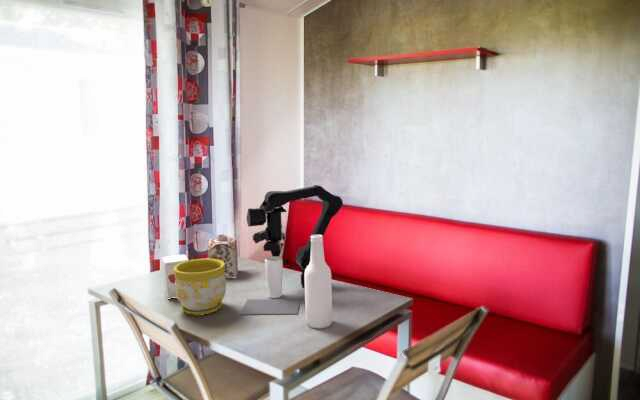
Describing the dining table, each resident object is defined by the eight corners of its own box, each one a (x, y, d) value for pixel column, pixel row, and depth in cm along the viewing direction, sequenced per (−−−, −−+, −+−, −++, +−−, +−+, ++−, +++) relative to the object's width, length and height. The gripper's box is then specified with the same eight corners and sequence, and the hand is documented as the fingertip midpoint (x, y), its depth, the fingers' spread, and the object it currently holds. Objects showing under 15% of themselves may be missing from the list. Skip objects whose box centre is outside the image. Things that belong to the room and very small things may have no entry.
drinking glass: (286, 294, 192) (285, 256, 189) (279, 300, 185) (278, 261, 183) (270, 292, 194) (269, 255, 191) (263, 298, 188) (261, 260, 185)
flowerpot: (166, 315, 174) (162, 270, 171) (195, 297, 190) (192, 256, 188) (210, 321, 167) (207, 275, 165) (236, 302, 184) (234, 260, 181)
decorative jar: (212, 271, 223) (209, 233, 220) (238, 270, 224) (236, 231, 221) (209, 280, 211) (206, 239, 208) (236, 278, 212) (234, 238, 209)
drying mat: (300, 299, 185) (300, 298, 185) (297, 314, 171) (297, 313, 171) (247, 300, 186) (247, 299, 186) (240, 314, 172) (240, 313, 172)
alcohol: (335, 327, 160) (333, 237, 155) (309, 331, 158) (307, 240, 153) (327, 316, 169) (325, 231, 164) (302, 320, 166) (300, 234, 161)
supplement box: (167, 300, 188) (164, 262, 186) (164, 293, 196) (161, 256, 194) (191, 296, 192) (188, 259, 189) (187, 289, 200) (184, 253, 198)
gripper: (257, 219, 201) (259, 256, 204) (249, 229, 183) (251, 270, 185) (285, 218, 200) (286, 256, 203) (279, 229, 182) (280, 269, 185)
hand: (275, 262), depth 194 cm, fingers closed
